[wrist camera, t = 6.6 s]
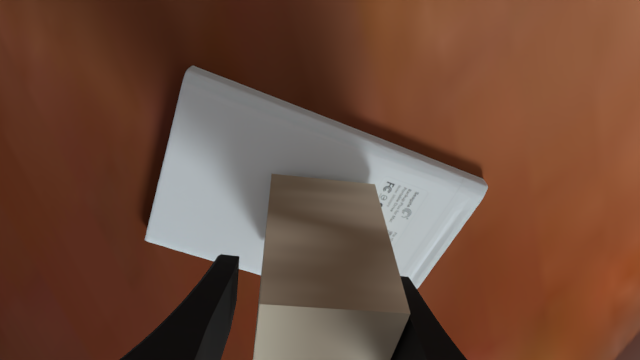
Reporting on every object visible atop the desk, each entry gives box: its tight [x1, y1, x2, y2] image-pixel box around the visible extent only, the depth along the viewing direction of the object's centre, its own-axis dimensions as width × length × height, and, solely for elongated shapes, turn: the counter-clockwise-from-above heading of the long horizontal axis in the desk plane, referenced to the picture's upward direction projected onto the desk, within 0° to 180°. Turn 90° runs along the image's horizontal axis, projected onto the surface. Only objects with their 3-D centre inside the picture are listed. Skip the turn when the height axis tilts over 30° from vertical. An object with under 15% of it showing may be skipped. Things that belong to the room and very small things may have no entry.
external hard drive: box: [145, 66, 488, 289], centre depth 18 cm, size 2×8×12 cm
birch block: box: [253, 174, 411, 360], centre depth 14 cm, size 4×4×6 cm
